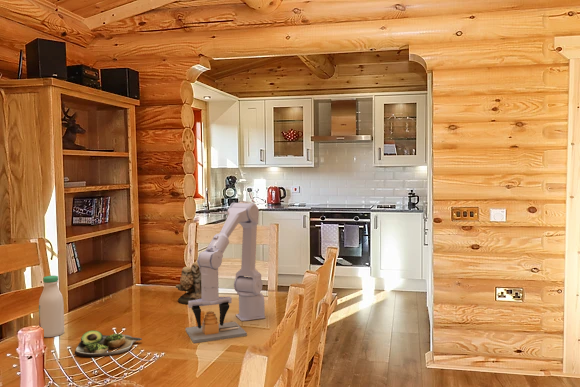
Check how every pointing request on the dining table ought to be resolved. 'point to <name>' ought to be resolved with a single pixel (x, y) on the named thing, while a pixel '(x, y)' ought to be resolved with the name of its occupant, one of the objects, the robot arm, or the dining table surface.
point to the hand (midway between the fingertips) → (210, 326)
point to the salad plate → (103, 344)
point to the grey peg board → (224, 333)
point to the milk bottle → (51, 308)
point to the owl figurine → (190, 284)
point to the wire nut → (210, 324)
